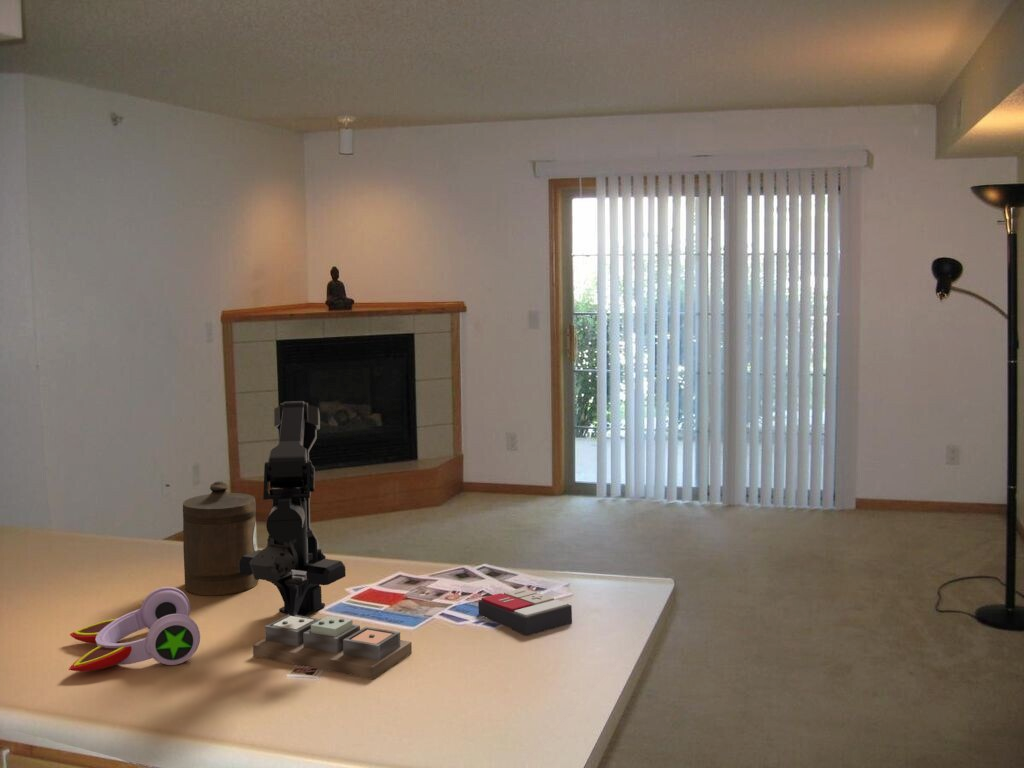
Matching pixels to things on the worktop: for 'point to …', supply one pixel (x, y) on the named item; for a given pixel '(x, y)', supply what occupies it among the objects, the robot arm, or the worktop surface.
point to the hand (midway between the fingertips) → (293, 615)
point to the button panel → (332, 649)
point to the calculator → (526, 611)
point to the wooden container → (218, 541)
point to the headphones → (165, 641)
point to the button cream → (293, 622)
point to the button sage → (331, 626)
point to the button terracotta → (372, 636)
